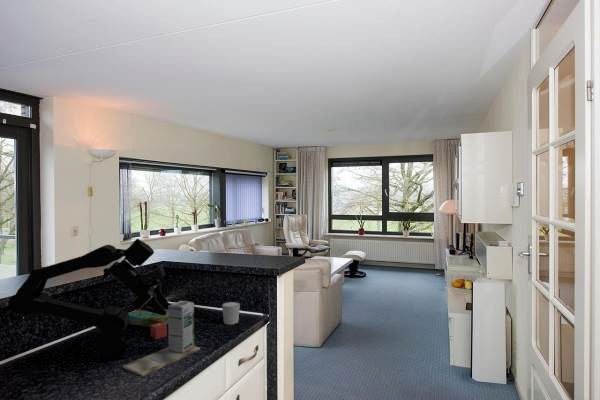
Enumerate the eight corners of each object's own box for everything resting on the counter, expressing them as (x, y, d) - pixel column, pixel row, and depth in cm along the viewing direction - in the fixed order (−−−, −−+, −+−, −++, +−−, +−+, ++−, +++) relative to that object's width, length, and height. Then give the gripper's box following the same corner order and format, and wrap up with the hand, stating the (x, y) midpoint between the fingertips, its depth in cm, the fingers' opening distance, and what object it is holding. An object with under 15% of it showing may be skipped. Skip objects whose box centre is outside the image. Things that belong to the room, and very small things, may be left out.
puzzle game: (144, 304, 151) (184, 310, 144) (144, 315, 151) (184, 321, 144) (121, 313, 140) (163, 319, 133) (121, 325, 140) (163, 332, 133)
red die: (155, 339, 126) (155, 327, 126) (150, 336, 129) (150, 324, 129) (166, 336, 129) (166, 324, 129) (161, 333, 132) (161, 321, 132)
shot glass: (220, 320, 146) (220, 302, 146) (238, 318, 148) (238, 301, 148) (223, 325, 139) (223, 307, 139) (241, 323, 142) (241, 305, 142)
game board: (142, 376, 100) (142, 374, 100) (122, 367, 105) (122, 365, 105) (200, 349, 118) (200, 347, 118) (181, 343, 123) (181, 341, 123)
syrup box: (183, 353, 114) (183, 306, 113) (167, 350, 116) (167, 304, 115) (194, 346, 119) (194, 301, 119) (179, 343, 121) (179, 299, 121)
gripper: (144, 263, 105) (184, 298, 108) (153, 253, 124) (187, 284, 127) (114, 292, 104) (156, 327, 107) (127, 277, 122) (162, 308, 125)
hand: (167, 309), depth 116 cm, fingers open, 9 cm apart
